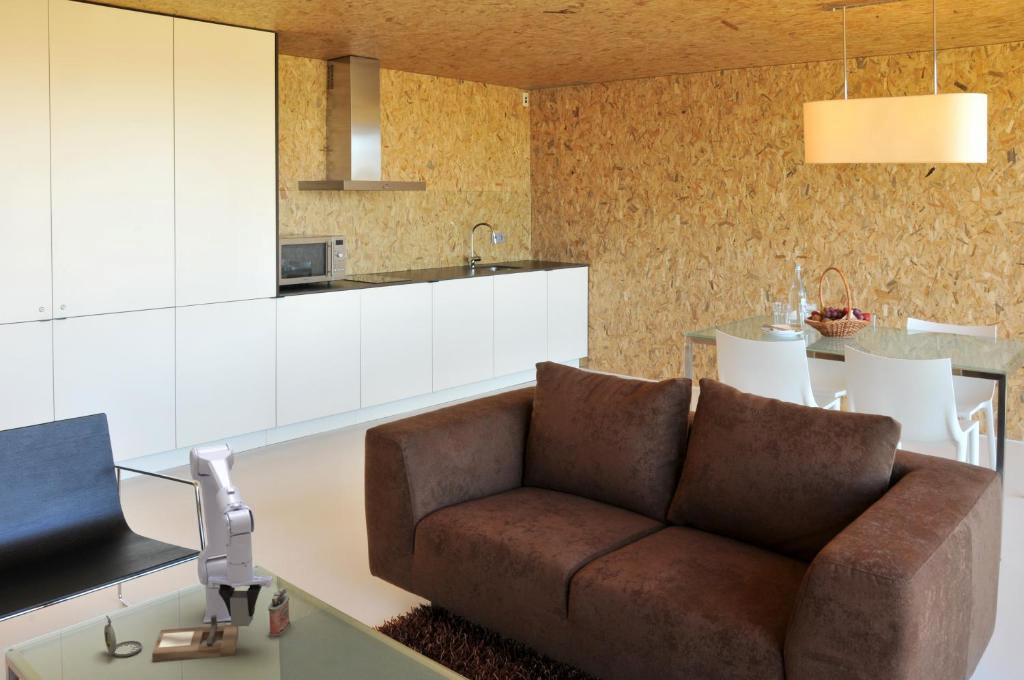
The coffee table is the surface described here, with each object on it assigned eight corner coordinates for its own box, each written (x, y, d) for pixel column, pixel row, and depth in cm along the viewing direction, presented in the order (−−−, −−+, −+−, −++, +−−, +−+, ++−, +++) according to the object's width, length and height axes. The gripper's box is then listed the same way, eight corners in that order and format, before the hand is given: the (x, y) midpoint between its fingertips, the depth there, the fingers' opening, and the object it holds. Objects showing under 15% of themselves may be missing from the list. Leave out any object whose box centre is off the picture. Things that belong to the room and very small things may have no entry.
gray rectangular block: (236, 618, 228) (235, 590, 227) (253, 618, 228) (251, 590, 227) (231, 626, 224) (229, 597, 223) (248, 626, 224) (247, 598, 223)
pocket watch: (148, 647, 228) (145, 607, 226) (123, 663, 220) (120, 622, 218) (120, 641, 230) (117, 602, 229) (94, 657, 223) (91, 617, 221)
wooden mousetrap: (161, 637, 232) (160, 618, 232) (238, 631, 236) (237, 612, 235) (152, 661, 221) (151, 641, 220) (233, 655, 224) (232, 635, 223)
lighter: (279, 638, 232) (277, 599, 231) (266, 637, 233) (264, 598, 231) (293, 623, 240) (291, 586, 238) (280, 622, 241) (279, 584, 239)
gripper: (202, 566, 220) (205, 622, 222) (266, 567, 219) (268, 622, 222) (212, 554, 226) (215, 608, 229) (273, 555, 226) (275, 609, 229)
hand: (241, 614), depth 226 cm, fingers closed on gray rectangular block, 4 cm apart
